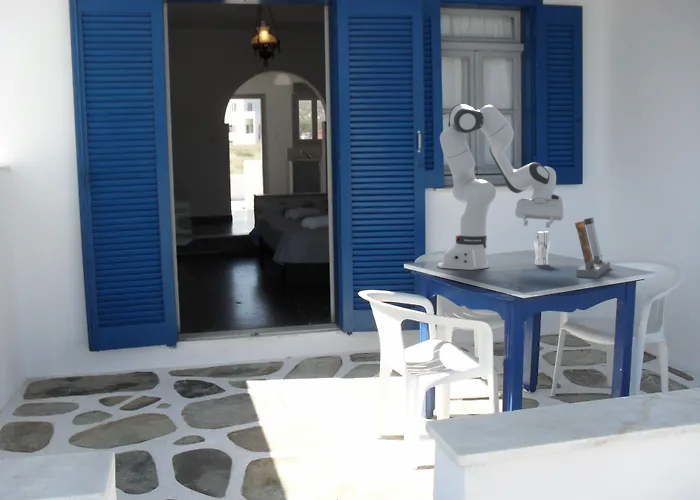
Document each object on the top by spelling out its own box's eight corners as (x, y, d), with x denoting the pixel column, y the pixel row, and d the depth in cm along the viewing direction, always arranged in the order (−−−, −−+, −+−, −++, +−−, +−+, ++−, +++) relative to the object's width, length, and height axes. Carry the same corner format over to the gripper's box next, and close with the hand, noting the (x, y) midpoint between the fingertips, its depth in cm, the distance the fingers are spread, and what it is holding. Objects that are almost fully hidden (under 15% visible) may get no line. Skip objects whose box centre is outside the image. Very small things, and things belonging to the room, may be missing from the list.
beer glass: (549, 265, 336) (550, 232, 334) (533, 265, 337) (534, 232, 335) (548, 263, 343) (549, 231, 341) (533, 263, 344) (534, 230, 342)
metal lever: (594, 263, 323) (583, 219, 323) (596, 261, 328) (586, 218, 328) (600, 261, 322) (590, 218, 322) (603, 260, 326) (592, 217, 326)
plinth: (576, 276, 306) (576, 262, 305) (591, 266, 332) (591, 253, 332) (596, 278, 302) (597, 263, 302) (609, 268, 328) (610, 254, 328)
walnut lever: (585, 268, 307) (574, 223, 307) (588, 267, 312) (577, 221, 312) (592, 267, 306) (581, 221, 306) (595, 265, 311) (584, 220, 311)
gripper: (517, 194, 328) (511, 219, 322) (565, 197, 320) (560, 223, 314) (518, 202, 333) (513, 228, 327) (566, 205, 325) (561, 231, 319)
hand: (536, 225), depth 320 cm, fingers open, 8 cm apart
